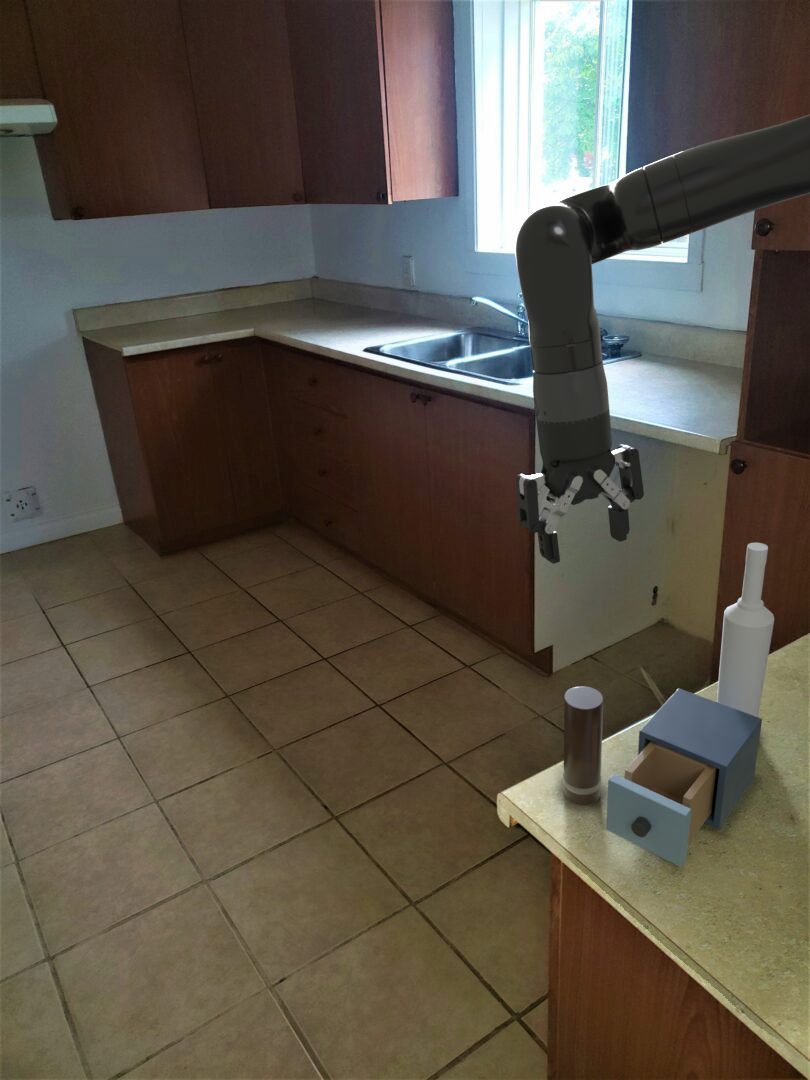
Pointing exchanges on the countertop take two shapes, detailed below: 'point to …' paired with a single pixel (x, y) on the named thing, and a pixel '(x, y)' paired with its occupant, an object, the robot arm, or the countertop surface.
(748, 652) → the bottle
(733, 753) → the cabinet
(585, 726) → the pepper mill
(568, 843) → the countertop surface
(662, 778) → the drawer
